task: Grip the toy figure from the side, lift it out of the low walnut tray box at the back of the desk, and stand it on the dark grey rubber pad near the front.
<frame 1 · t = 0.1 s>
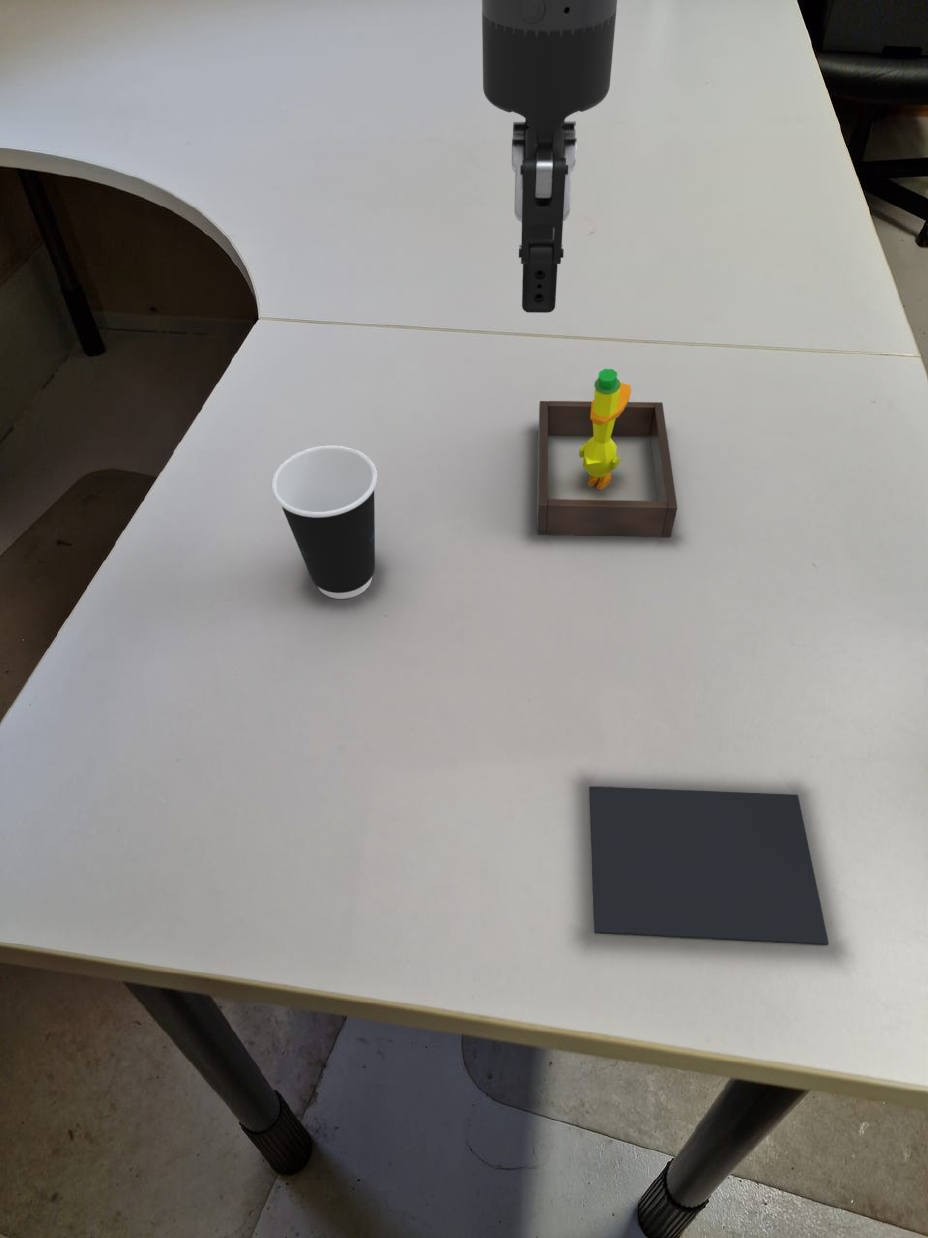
hand: (538, 277, 60), 22 cm above the table, tool pointing down, fingers open, 8 cm apart
tray box: (600, 480, 79), on the table
dixie cup: (344, 579, 73), on the table
toy figure: (600, 481, 79), resting in tray box
rubber pad: (700, 861, 55), on the table
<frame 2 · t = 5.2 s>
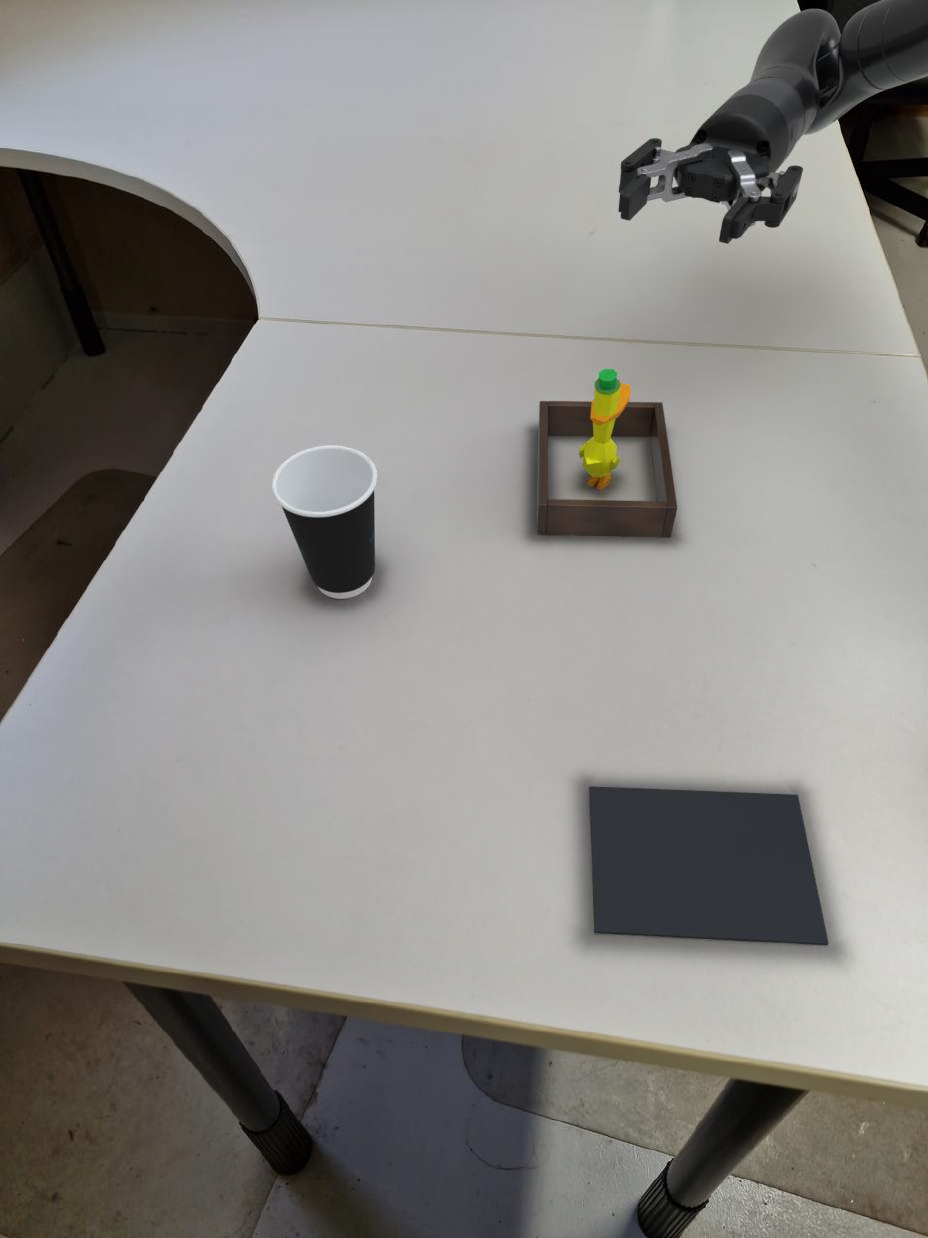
hand: (673, 219, 69), 20 cm above the table, tool horizontal, fingers open, 8 cm apart
nothing on the table moved.
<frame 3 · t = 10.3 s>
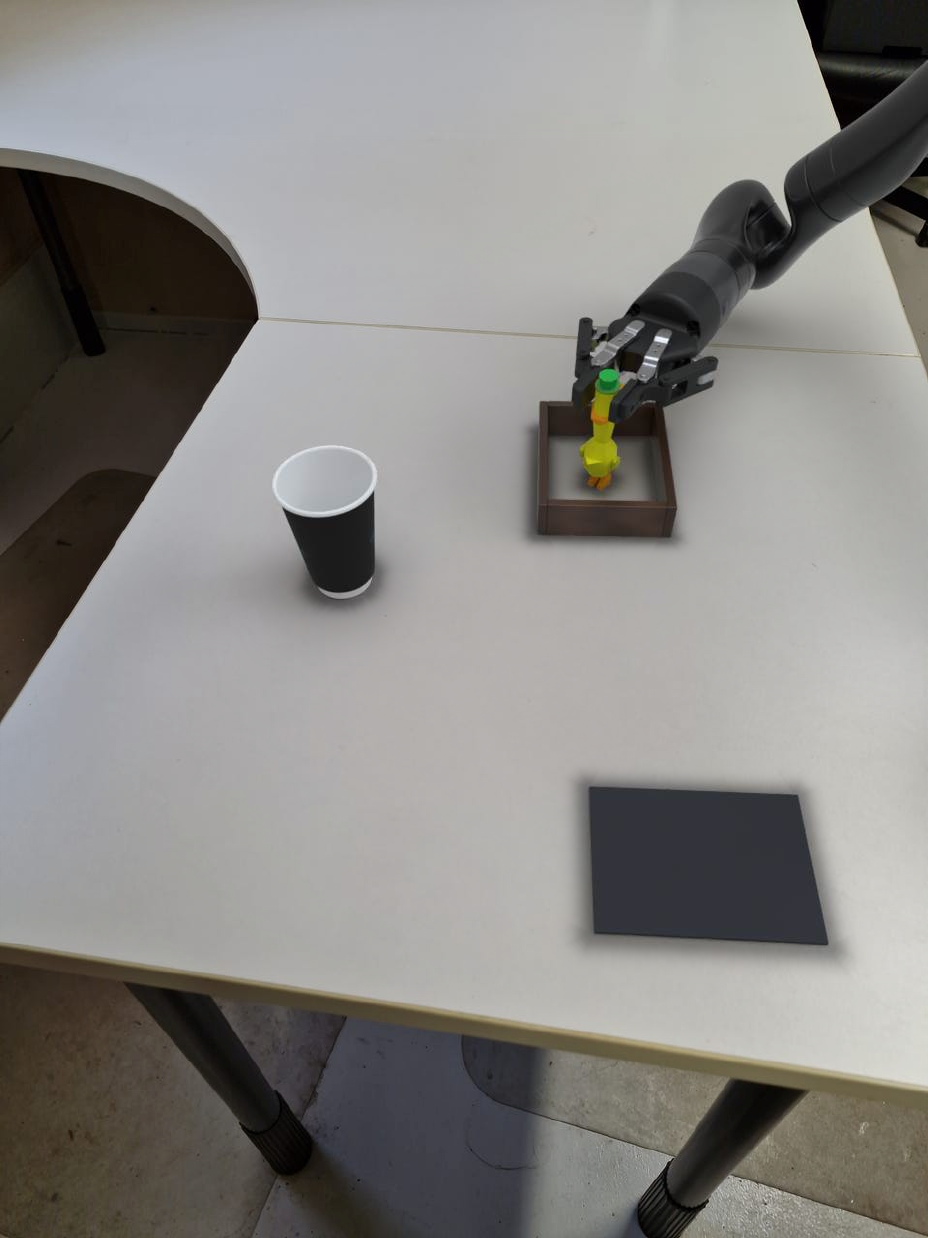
hand: (594, 406, 70), 10 cm above the table, tool horizontal, fingers closed on toy figure, 2 cm apart
toy figure: (600, 481, 79), resting in tray box, touching gripper
everything else where it was.
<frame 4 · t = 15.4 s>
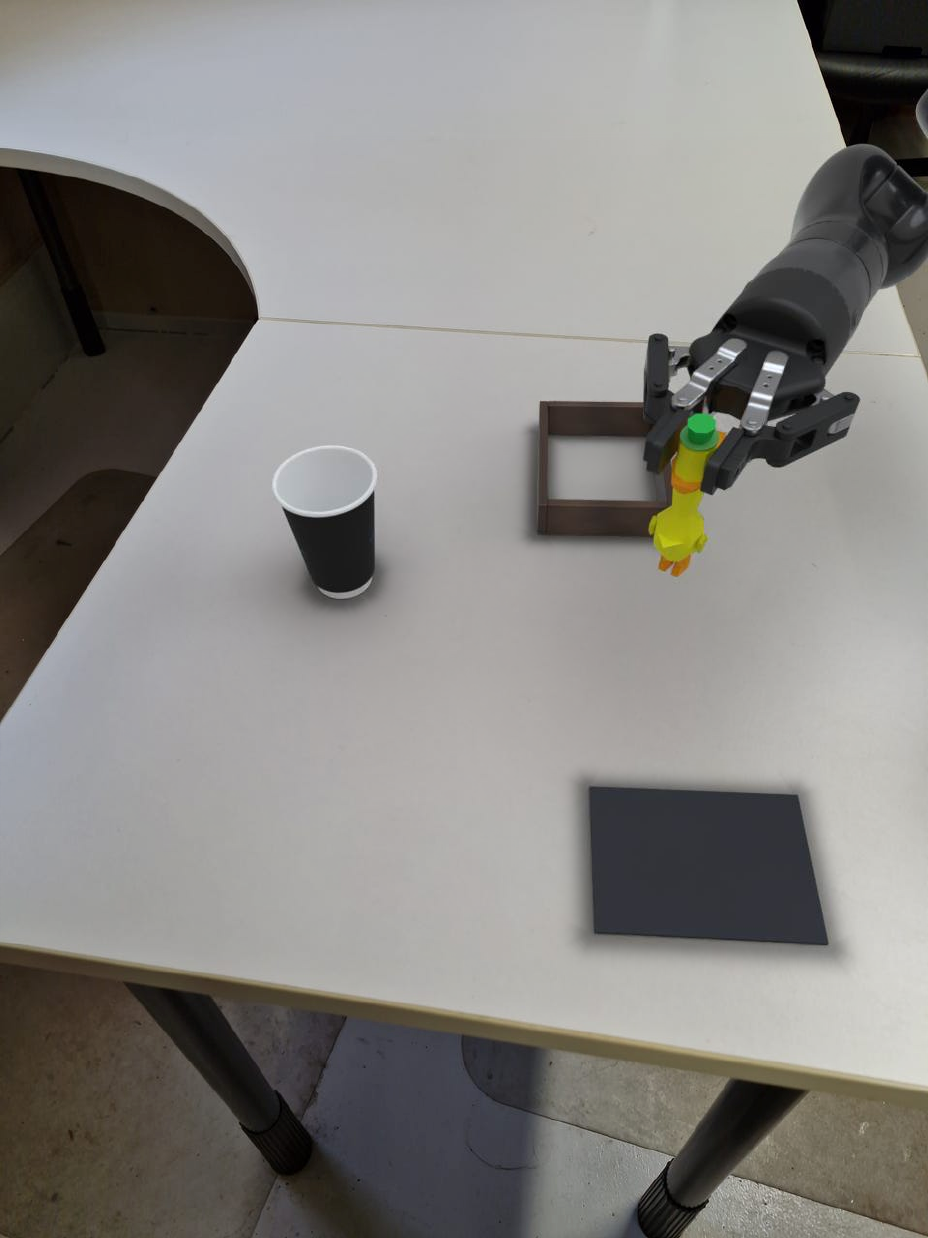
hand: (680, 470, 47), 22 cm above the table, tool horizontal, fingers closed on toy figure, 2 cm apart
toy figure: (674, 564, 56), point 12 cm above the table, touching gripper
everything else where it was.
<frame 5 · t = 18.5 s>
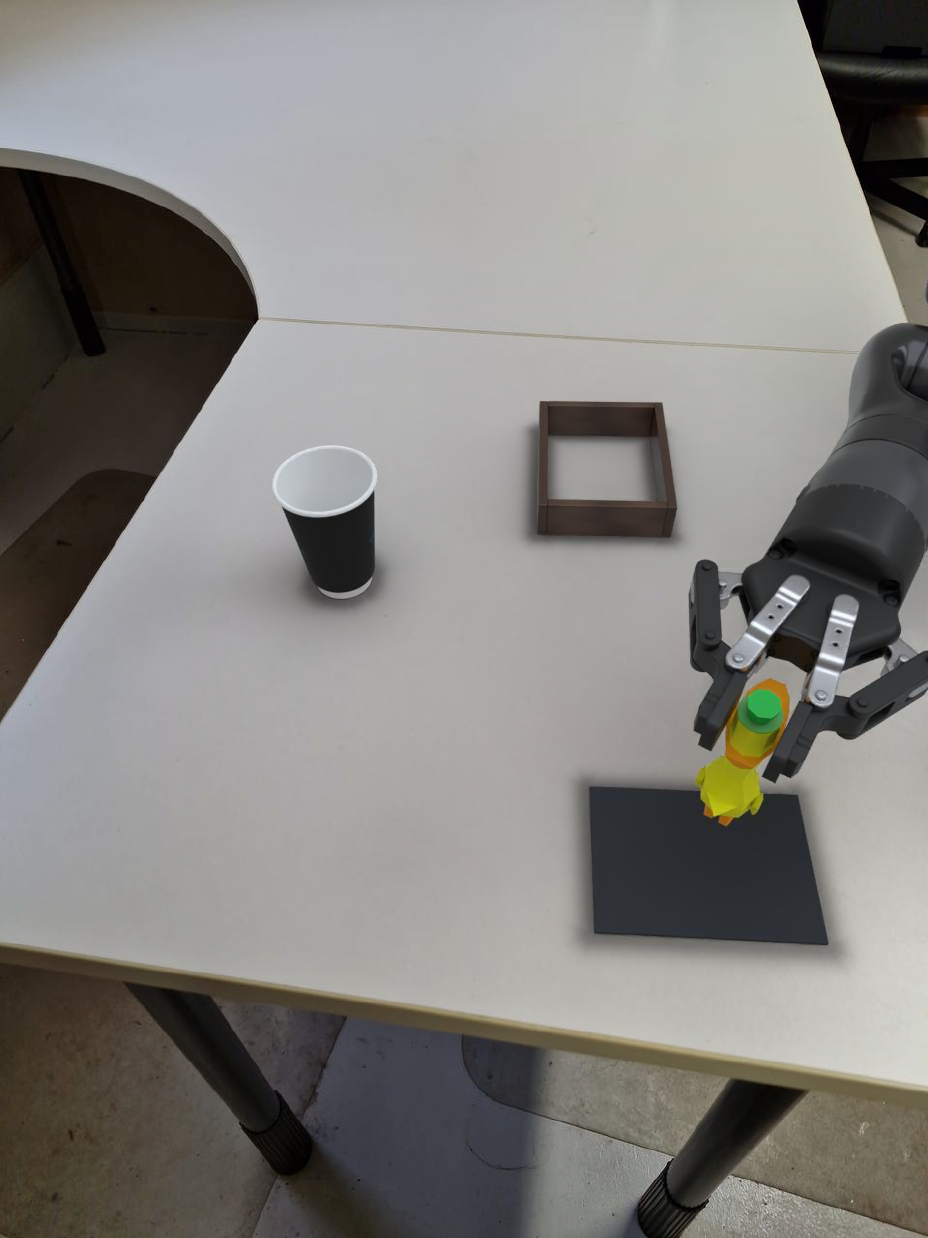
hand: (739, 754, 41), 17 cm above the table, tool horizontal, fingers closed on toy figure, 2 cm apart
toy figure: (722, 806, 50), point 7 cm above the table, touching gripper
everything else where it was.
when the fingers open (10 cm above the table, at t = 20.7 s): toy figure stays where it is, resting on rubber pad.
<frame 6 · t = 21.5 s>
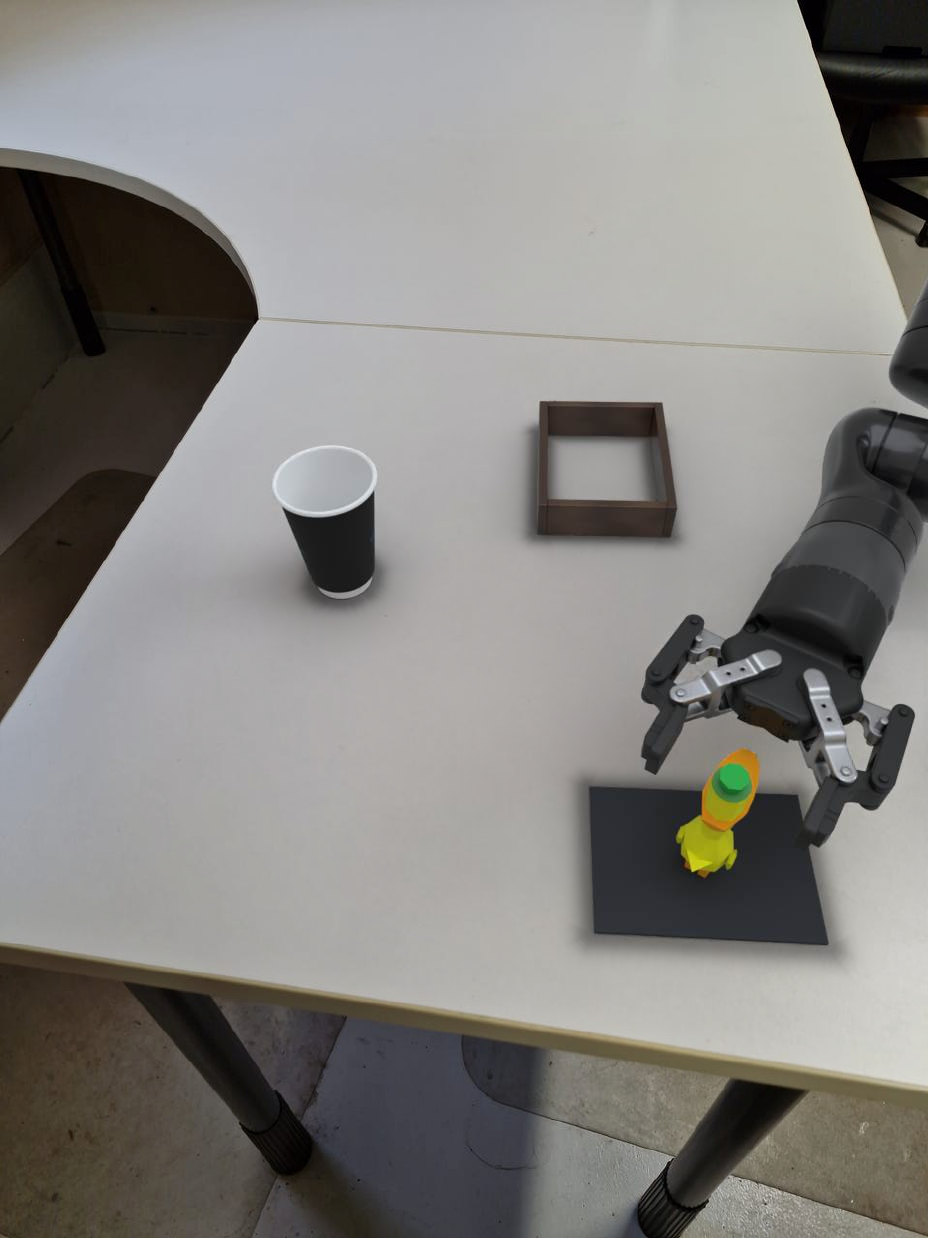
hand: (724, 802, 46), 11 cm above the table, tool horizontal, fingers open, 8 cm apart
toy figure: (701, 859, 55), resting on rubber pad
everything else where it was.
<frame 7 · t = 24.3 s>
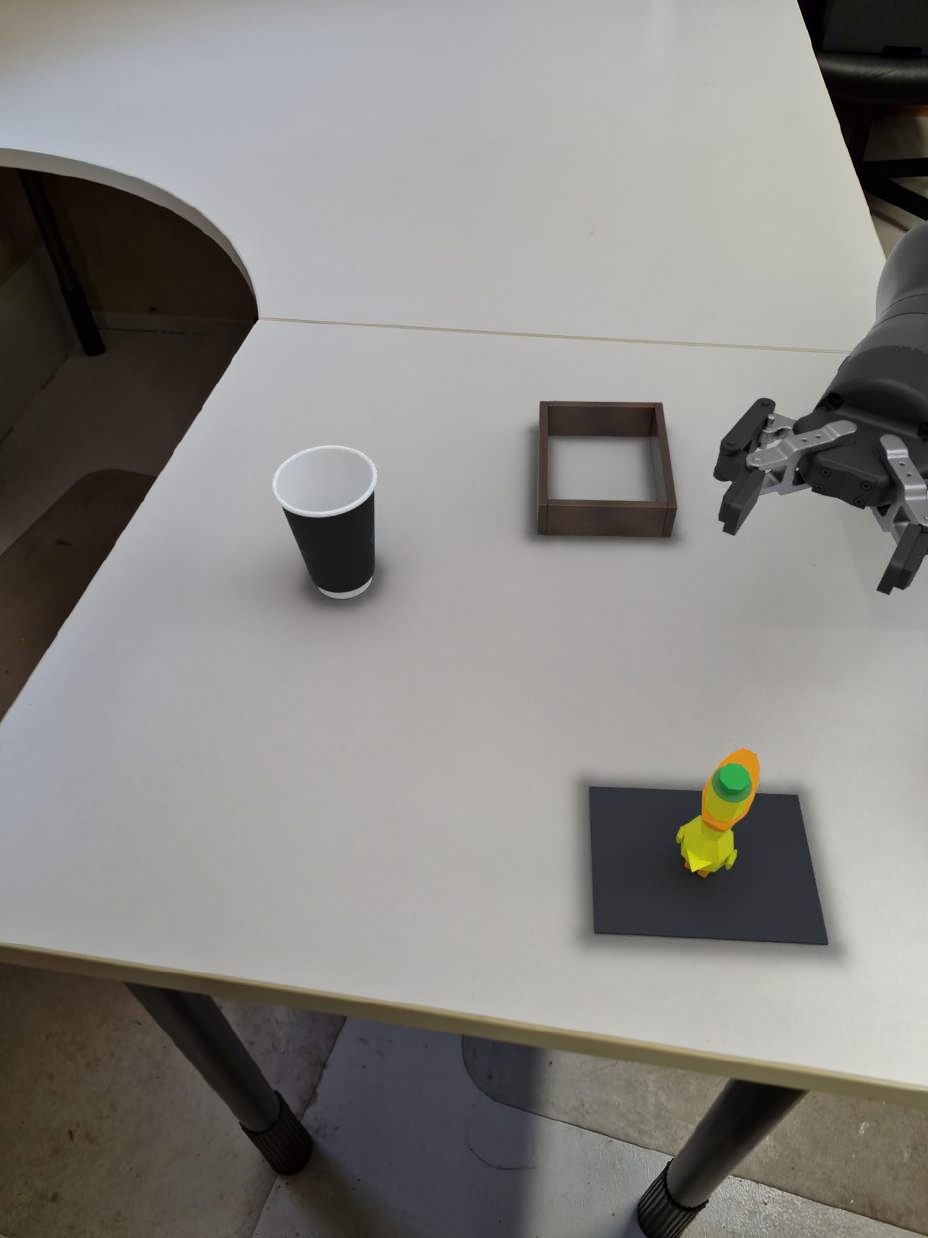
hand: (806, 551, 46), 20 cm above the table, tool horizontal, fingers open, 8 cm apart
nothing on the table moved.
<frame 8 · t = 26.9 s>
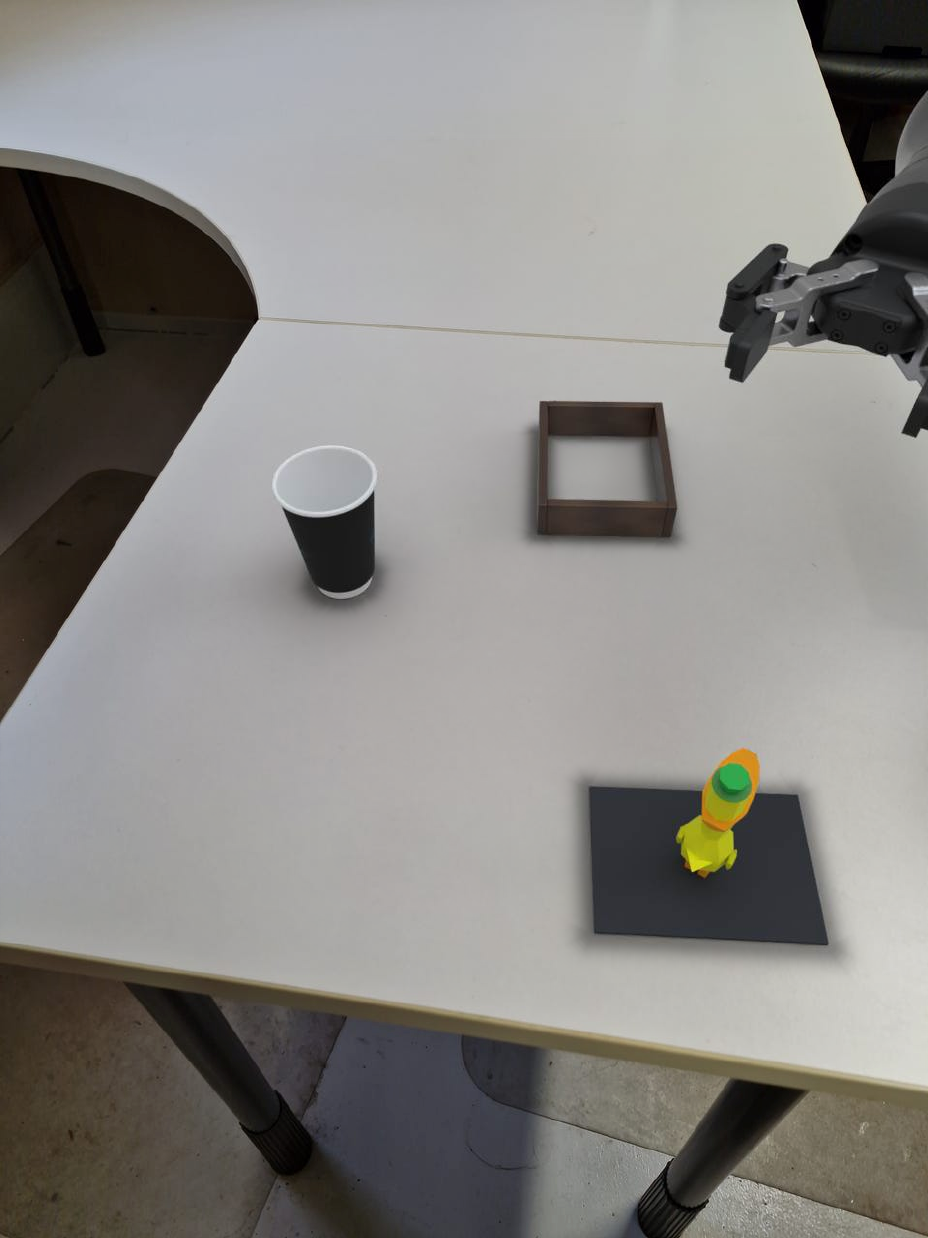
hand: (823, 391, 41), 28 cm above the table, tool horizontal, fingers open, 8 cm apart
nothing on the table moved.
at the end: toy figure inside the target area on the rubber pad (0.1 cm from its centre), point 0.1 cm above the rubber pad's base; toy figure tilted 0°; the gripper is holding nothing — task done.
